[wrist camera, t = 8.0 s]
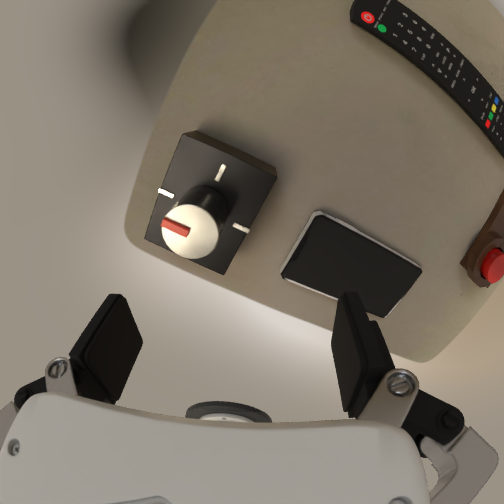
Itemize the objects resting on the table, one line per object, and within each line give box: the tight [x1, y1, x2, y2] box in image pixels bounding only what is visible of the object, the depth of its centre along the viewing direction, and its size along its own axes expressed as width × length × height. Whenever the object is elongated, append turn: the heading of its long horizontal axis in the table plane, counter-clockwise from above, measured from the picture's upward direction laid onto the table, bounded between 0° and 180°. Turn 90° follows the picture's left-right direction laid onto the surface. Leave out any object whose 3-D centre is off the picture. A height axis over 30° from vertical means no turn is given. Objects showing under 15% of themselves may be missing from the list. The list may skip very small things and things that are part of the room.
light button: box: [481, 248, 504, 283], centre depth 23 cm, size 4×4×2 cm
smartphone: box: [280, 211, 422, 318], centre depth 28 cm, size 8×1×15 cm
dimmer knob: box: [161, 186, 228, 259], centre depth 20 cm, size 4×4×5 cm
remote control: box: [350, 0, 504, 157], centre depth 17 cm, size 5×24×1 cm, turn 65°
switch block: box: [460, 190, 504, 288], centre depth 23 cm, size 14×9×3 cm, turn 155°
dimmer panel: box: [144, 130, 277, 275], centre depth 24 cm, size 10×8×4 cm
